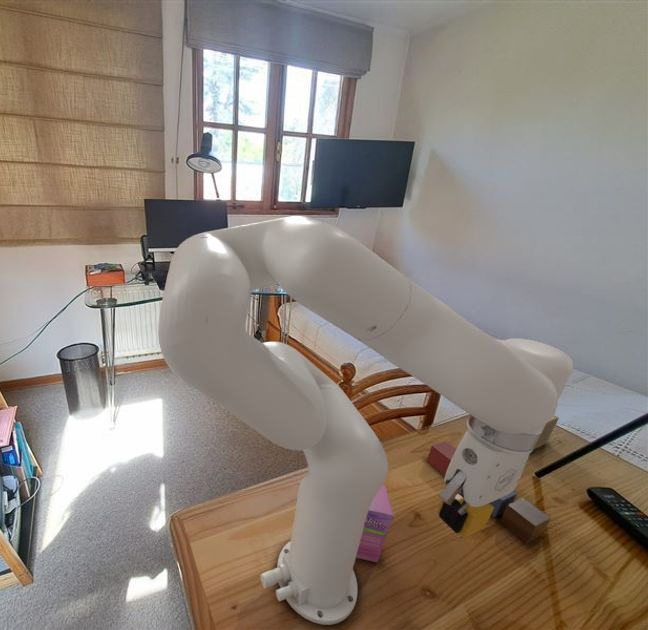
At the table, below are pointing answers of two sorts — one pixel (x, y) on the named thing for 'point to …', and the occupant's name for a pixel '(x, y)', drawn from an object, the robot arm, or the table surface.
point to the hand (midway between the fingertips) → (460, 518)
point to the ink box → (546, 432)
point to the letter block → (473, 517)
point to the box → (375, 527)
